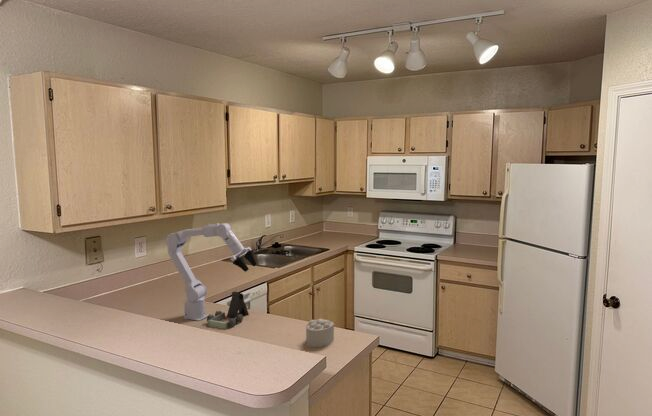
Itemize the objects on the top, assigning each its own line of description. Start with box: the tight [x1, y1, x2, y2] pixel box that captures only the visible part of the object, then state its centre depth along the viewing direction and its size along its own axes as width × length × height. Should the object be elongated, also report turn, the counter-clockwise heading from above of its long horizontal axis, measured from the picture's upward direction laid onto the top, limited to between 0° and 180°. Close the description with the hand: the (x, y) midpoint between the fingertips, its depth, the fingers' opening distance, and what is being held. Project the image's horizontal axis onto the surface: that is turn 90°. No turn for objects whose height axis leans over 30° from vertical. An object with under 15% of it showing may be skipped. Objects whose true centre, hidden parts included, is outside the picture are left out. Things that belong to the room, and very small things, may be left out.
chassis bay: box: [206, 310, 244, 330], centre depth 207 cm, size 14×12×4 cm
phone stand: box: [226, 290, 250, 319], centre depth 216 cm, size 9×6×12 cm, turn 135°
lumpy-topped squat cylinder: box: [305, 318, 335, 348], centre depth 186 cm, size 10×13×9 cm
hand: (251, 267), depth 206 cm, fingers open, 7 cm apart
